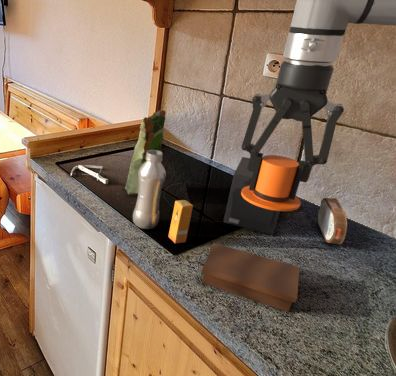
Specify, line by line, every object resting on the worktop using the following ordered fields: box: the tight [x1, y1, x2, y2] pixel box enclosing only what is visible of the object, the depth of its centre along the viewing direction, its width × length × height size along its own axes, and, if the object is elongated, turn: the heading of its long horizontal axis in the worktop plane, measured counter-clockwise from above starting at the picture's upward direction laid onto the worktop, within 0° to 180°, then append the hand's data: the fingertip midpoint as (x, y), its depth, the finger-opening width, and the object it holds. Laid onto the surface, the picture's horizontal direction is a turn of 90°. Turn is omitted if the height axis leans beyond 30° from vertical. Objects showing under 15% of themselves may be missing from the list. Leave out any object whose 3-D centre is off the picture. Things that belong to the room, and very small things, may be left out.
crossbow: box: [70, 164, 109, 185], centre depth 132 cm, size 16×13×2 cm
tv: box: [223, 156, 281, 236], centre depth 106 cm, size 12×14×14 cm
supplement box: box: [168, 199, 194, 244], centre depth 96 cm, size 3×3×10 cm
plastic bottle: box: [132, 150, 167, 230], centre depth 99 cm, size 6×7×20 cm
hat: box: [241, 154, 302, 212], centre depth 74 cm, size 10×10×8 cm
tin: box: [317, 197, 348, 246], centre depth 100 cm, size 15×3×8 cm, turn 161°
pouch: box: [124, 109, 167, 196], centre depth 116 cm, size 11×12×25 cm
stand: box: [201, 242, 300, 313], centre depth 83 cm, size 17×11×4 cm, turn 60°
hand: (271, 191), depth 75 cm, fingers closed on hat, 6 cm apart
